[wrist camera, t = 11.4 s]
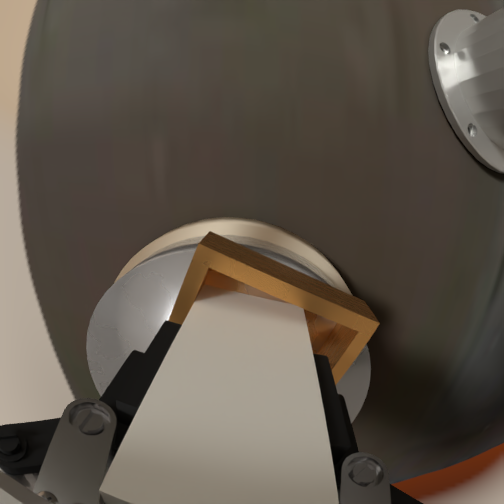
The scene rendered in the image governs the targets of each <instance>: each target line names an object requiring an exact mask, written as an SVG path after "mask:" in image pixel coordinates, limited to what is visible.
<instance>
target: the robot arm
mask: <svg viewBox="0 0 504 504" xmlns="http://www.w3.org/2000/svg"><path fill="white" fill-rule="evenodd" d="M428 53H429V66H430V71H431V75H432V80H433V84H434V87H435V90H436V93H437V96H438V99H439V101H440V104H441V106H442V108H443V110H444V112H445V115H446V117H447V119H448V121H449V122H450V124H451V126H452V127H453V129H454V131H455V133H456V134H457V136H458V137H459V138H460V140H461V141H462V143H463V144H464V145H465V147H466V148H467V149H468V150H469V151H470V152H471V153H472V155H473V156H474V157H475V158H476V159H477V160H478V161H480V162H481V163H482V164H484V165H485V166H486V167H488V168H489V169H491V170H494V171H496V172H498V173H502V174H504V8H502V9H500V10H498V11H496V12H495V13H493V14H491V15H489V16H487V17H486V16H484V15H482V14H480V13H478V12H474V11H470V10H455V11H452V12H449V13H448V14H446V15H445V16H443V17H442V18H441V19H440V20H439V21H438V22H437V23H436V24H435V26H434V27H433V30H432V33H431V35H430V39H429V48H428ZM181 326H182V324H178V323H174V322H171V321H167V320H165V322H164V323H163V325H162V326H161V328H160V329H159V331H158V333H157V334H156V336H155V337H154V339H153V340H152V342H151V344H150V345H149V347H148V348H147V350H146V351H145V353H143V352H140V351H137V350H133V351H132V352H131V353H130V355H129V356H128V358H127V359H126V361H125V362H124V363H123V365H122V366H121V368H120V369H119V371H118V372H117V374H116V375H115V377H114V378H113V380H112V381H111V383H110V384H109V386H108V387H107V389H106V390H105V392H104V393H103V395H102V396H101V398H100V399H99V400H97V399H91V398H82V399H78V400H75V401H73V402H71V403H70V404H69V405H68V406H67V407H66V409H65V410H64V412H63V415H62V417H61V418H56V419H50V420H43V421H35V422H26V423H17V424H7V425H2V426H0V504H105V502H104V500H103V498H102V496H101V494H100V491H99V489H100V487H101V485H102V482H103V480H104V478H105V476H106V474H107V472H108V470H109V468H110V466H111V464H112V461H113V459H114V457H115V455H116V453H117V451H118V449H119V447H120V445H121V443H122V441H123V439H124V437H125V435H126V433H127V431H128V429H129V427H130V425H131V423H132V421H133V419H134V417H135V415H136V413H137V411H138V409H139V407H140V405H141V403H142V401H143V399H144V397H145V395H146V393H147V391H148V389H149V387H150V385H151V383H152V381H153V379H154V377H155V375H156V373H157V372H158V370H159V368H160V366H161V364H162V362H163V360H164V358H165V356H166V354H167V352H168V350H169V349H170V347H171V345H172V343H173V341H174V339H175V337H176V335H177V333H178V332H179V330H180V328H181ZM313 356H314V361H315V366H316V371H317V376H318V381H319V387H320V392H321V397H322V403H323V408H324V413H325V419H326V425H327V430H328V436H329V442H330V448H331V454H332V460H333V466H334V473H335V479H336V486H337V493H338V500H339V504H423V503H421V502H419V501H417V500H416V499H414V498H412V497H411V496H409V495H407V494H406V493H404V492H402V491H401V490H399V489H397V488H396V487H394V486H392V485H391V484H390V483H389V473H388V469H387V467H386V465H385V464H384V462H383V461H382V460H380V459H379V458H378V457H376V456H374V455H372V454H369V453H359V451H358V447H357V443H356V439H355V436H354V432H353V428H352V424H351V421H350V417H349V413H348V410H347V406H346V402H345V399H344V397H343V395H341V394H338V393H337V389H336V385H335V381H334V378H333V374H332V370H331V367H330V363H329V359H328V357H327V356H325V355H319V354H313Z"/></svg>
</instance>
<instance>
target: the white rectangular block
mask: <svg viewBox="0 0 504 504" xmlns="http://www.w3.org/2000/svg"><path fill="white" fill-rule="evenodd" d="M99 491H100V494H101V496H102V498H103V500H104V502H105V504H339V500H338V493H337V486H336V479H335V473H334V466H333V460H332V454H331V448H330V442H329V436H328V430H327V425H326V419H325V413H324V408H323V403H322V397H321V392H320V387H319V381H318V376H317V371H316V366H315V361H314V356H313V351H312V346H311V342H310V337H309V332H308V327H307V323H306V318H305V314H304V309H303V308H300V307H298V306H296V305H293V304H288V303H284V302H279V301H275V300H270V299H266V298H261V297H257V296H252V295H248V294H244V293H239V292H235V291H231V290H227V289H222V288H218V287H214V286H210V285H206V284H204V285H203V287H202V289H201V291H200V293H199V294H198V296H197V298H196V300H195V302H194V304H193V305H192V307H191V309H190V311H189V313H188V315H187V317H186V318H185V320H184V322H183V324H182V326H181V328H180V330H179V332H178V333H177V335H176V337H175V339H174V341H173V343H172V345H171V347H170V349H169V350H168V352H167V354H166V356H165V358H164V360H163V362H162V364H161V366H160V368H159V370H158V372H157V373H156V375H155V377H154V379H153V381H152V383H151V385H150V387H149V389H148V391H147V393H146V395H145V397H144V399H143V401H142V403H141V405H140V407H139V409H138V411H137V413H136V415H135V417H134V419H133V421H132V423H131V425H130V427H129V429H128V431H127V433H126V435H125V437H124V439H123V441H122V443H121V445H120V447H119V449H118V451H117V453H116V455H115V457H114V459H113V461H112V464H111V466H110V468H109V470H108V472H107V474H106V476H105V478H104V480H103V482H102V485H101V487H100V489H99Z"/></svg>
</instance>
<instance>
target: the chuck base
mask: <svg viewBox="0 0 504 504" xmlns="http://www.w3.org/2000/svg"><path fill="white" fill-rule="evenodd" d="M209 231H211V232H213V233H216V234H218V235H237V236H247V237H252V238H256V239H260V240H264V241H268V242H271V243H274V244H276V245H279V246H281V247H284V248H287V249H289V250H290V251H292V252H294V253H296V254H298V255H300V256H301V257H303V258H305V259H306V260H307V261H309V262H310V263H312V264H313V265H314V266H316V267H317V268H318V269H320V270H321V271H322V272H323V273H324V274H325V275H326V276H327V277H328V278H329V279H330V280H331V281H332V283H333V284H334V285H335V287H336V288H337V289H339V290H341V291H343V292H346V293H348V294H350V295H352V294H351V292H350V290H349V289H348V287H347V286H346V284H345V282H344V281H343V279H342V278H341V276H340V275H339V273H338V272H337V270H336V269H335V267H334V266H333V265H332V264H331V263H330V262H329V260H328V259H327V258H326V257H325V256H324V255H323V254H322V253H321V252H320V251H318V250H317V249H316V248H315V247H314V246H313V245H312V244H310V243H309V242H307V241H306V240H304V239H302V238H301V237H299V236H298V235H296V234H294V233H292V232H290V231H288V230H286V229H283V228H281V227H279V226H276V225H273V224H270V223H266V222H263V221H259V220H253V219H247V218H236V217H220V218H210V219H203V220H199V221H195V222H191V223H188V224H185V225H183V226H180V227H178V228H175V229H173V230H171V231H169V232H168V233H166V234H164V235H162V236H161V237H159V238H158V239H156V240H154V241H153V242H152V243H150V244H149V245H147V246H146V247H144V248H143V249H142V250H141V251H140V252H138V253H137V254H136V255H135V256H134V257H133V258H132V259H131V260H130V261H129V262H128V263H127V264H126V266H125V267H124V268H123V269H122V271H121V272H120V274H119V276H118V277H117V279H116V281H117V280H119V279H120V278H121V277H122V276H124V275H125V274H126V273H127V272H129V271H130V270H131V269H132V268H134V267H135V266H136V265H137V264H139V263H140V262H141V261H143V260H144V259H145V258H147V257H148V256H150V255H151V254H153V253H154V252H156V251H157V250H159V249H162V248H164V247H166V246H168V245H170V244H172V243H175V242H178V241H182V240H185V239H188V238H193V237H199V236H206V235H207V233H208V232H209ZM116 281H115V282H116ZM115 282H114V283H115ZM352 296H353V295H352Z"/></svg>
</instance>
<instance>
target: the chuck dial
mask: <svg viewBox="0 0 504 504" xmlns="http://www.w3.org/2000/svg"><path fill="white" fill-rule="evenodd" d="M204 284H206V285H210V286H214V287H218V288H222V289H227V290H231V291H235V292H239V293H244V294H248V295H252V296H257V297H261V298H266V299H270V300H275V301H279V302H284V303H288V304H293V305H296V306H298V307H300V308H303V309H304V314H305V318H306V323H307V327H308V332H309V337H310V342H311V346H312V351H313V354H319V355H325V356H327V357H328V359H329V363H330V367H331V370H332V374H333V378H334V381H335V385H336V389H337V393H338V394H341V395H343V397H344V399H345V402H346V406H347V410H348V413H349V417H350V421H351V423H352V422H353V421H354V419H355V418H356V416H357V414H358V413H359V411H360V410H361V408H362V405H363V403H364V401H365V398H366V396H367V392H368V388H369V384H370V374H371V364H370V355H369V350H368V347H367V342H368V341H369V339H370V338H371V336H372V335H373V333H374V332H375V330H376V329H377V327H378V326H379V324H380V323H379V321H378V320H377V318H376V317H375V316H374V314H373V313H372V311H371V310H370V308H369V307H368V305H367V304H366V303H365V301H363V300H361V299H359V298H357V297H354V296H352V295H350V294H348V293H346V292H343V291H341V290H339V289H337V288H336V287H335V285H334V284H333V283H332V281H331V280H330V279H329V278H328V277H327V276H326V275H325V274H324V273H323V272H322V271H321V270H320V269H318V268H317V267H316V266H314V265H313V264H312V263H310V262H309V261H307V260H306V259H305V258H303V257H301V256H300V255H298V254H296V253H294V252H292V251H290V250H289V249H287V248H284V247H281V246H279V245H276V244H274V243H271V242H268V241H264V240H260V239H256V238H252V237H247V236H237V235H218V234H216V233H213V232H211V231H209V232H208V233H207V235H206V236H199V237H193V238H188V239H185V240H182V241H178V242H175V243H172V244H170V245H168V246H166V247H164V248H162V249H159V250H157V251H156V252H154V253H153V254H151V255H150V256H148V257H147V258H145V259H144V260H143V261H141V262H140V263H139V264H137V265H136V266H135V267H134V268H132V269H131V270H130V271H129V272H127V273H126V274H125V275H124V276H122V277H121V278H120V279H119V280H117V281H116V282H115V283H114V284H113V285H112V286H111V287H110V288H109V289H108V290H107V291H106V293H105V294H104V295H103V297H102V298H101V300H100V301H99V303H98V304H97V306H96V308H95V310H94V313H93V315H92V317H91V320H90V324H89V328H88V332H87V345H86V348H87V359H88V364H89V368H90V373H91V376H92V378H93V381H94V383H95V386H96V388H97V390H98V392H99V394H100V396H102V395H103V393H104V392H105V390H106V389H107V387H108V386H109V384H110V383H111V381H112V380H113V378H114V377H115V375H116V374H117V372H118V371H119V369H120V368H121V366H122V365H123V363H124V362H125V361H126V359H127V358H128V356H129V355H130V353H131V352H132V351H133V350H137V351H140V352H143V353H145V351H146V350H147V348H148V347H149V345H150V344H151V342H152V340H153V339H154V337H155V336H156V334H157V333H158V331H159V329H160V328H161V326H162V325H163V323H164V322H165V320H167V321H171V322H174V323H178V324H183V322H184V320H185V318H186V317H187V315H188V313H189V311H190V309H191V307H192V305H193V304H194V302H195V300H196V298H197V296H198V294H199V293H200V291H201V289H202V287H203V285H204Z"/></svg>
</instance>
